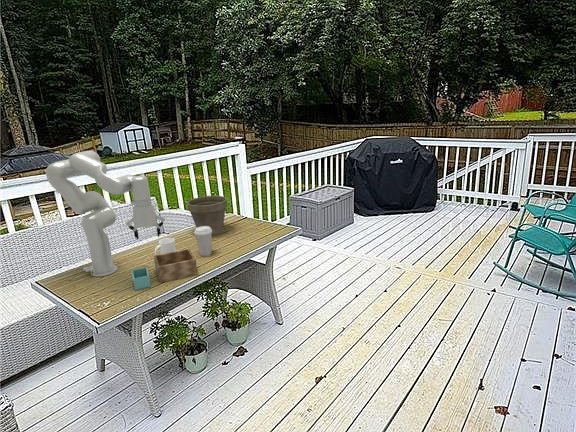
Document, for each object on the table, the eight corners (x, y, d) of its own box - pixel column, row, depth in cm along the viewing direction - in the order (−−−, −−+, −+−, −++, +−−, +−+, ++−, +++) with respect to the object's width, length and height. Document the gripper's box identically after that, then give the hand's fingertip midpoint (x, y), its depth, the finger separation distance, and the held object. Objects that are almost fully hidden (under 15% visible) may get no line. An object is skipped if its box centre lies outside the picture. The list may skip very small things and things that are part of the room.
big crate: (160, 282, 188) (157, 267, 186) (155, 270, 202) (153, 255, 200) (197, 274, 196) (195, 259, 193) (190, 262, 209) (189, 248, 207)
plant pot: (189, 229, 262) (185, 197, 255) (226, 224, 269) (223, 193, 262) (192, 241, 239) (188, 207, 232) (232, 236, 246) (229, 202, 239)
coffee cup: (197, 258, 215) (194, 232, 210) (196, 251, 224) (193, 226, 219) (215, 255, 217) (212, 230, 212) (213, 249, 226) (211, 224, 221)
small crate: (135, 291, 182) (133, 279, 180) (133, 281, 191) (131, 270, 190) (151, 287, 185) (149, 275, 183) (148, 278, 194) (146, 267, 192)
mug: (159, 264, 209) (156, 246, 206) (152, 260, 214) (149, 242, 211) (179, 257, 217) (177, 240, 214) (172, 253, 222) (169, 236, 219)
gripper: (121, 206, 178) (128, 242, 183) (161, 202, 182) (166, 237, 187) (123, 202, 185) (130, 236, 190) (162, 198, 189) (167, 232, 194)
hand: (148, 237), depth 189 cm, fingers open, 9 cm apart
